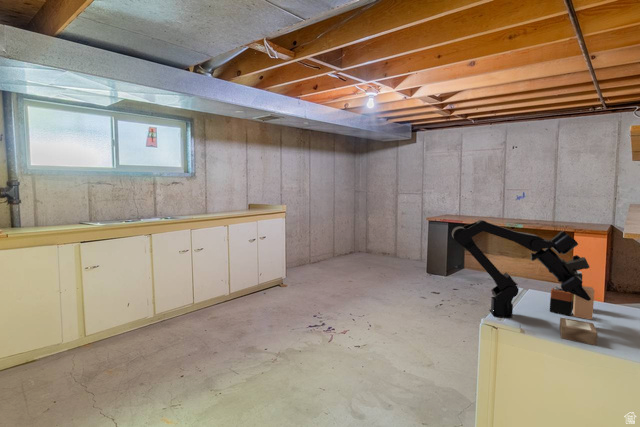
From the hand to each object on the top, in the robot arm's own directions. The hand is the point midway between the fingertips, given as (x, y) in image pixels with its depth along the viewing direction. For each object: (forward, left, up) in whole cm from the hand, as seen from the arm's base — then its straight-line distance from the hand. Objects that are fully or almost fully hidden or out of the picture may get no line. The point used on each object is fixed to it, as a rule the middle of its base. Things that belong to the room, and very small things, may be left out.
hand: (588, 298), depth 121 cm
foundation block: (-7, -10, -10) cm, 16 cm away
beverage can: (+5, +21, -11) cm, 24 cm away
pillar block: (-1, 0, -7) cm, 7 cm away
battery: (-2, +13, -11) cm, 17 cm away
